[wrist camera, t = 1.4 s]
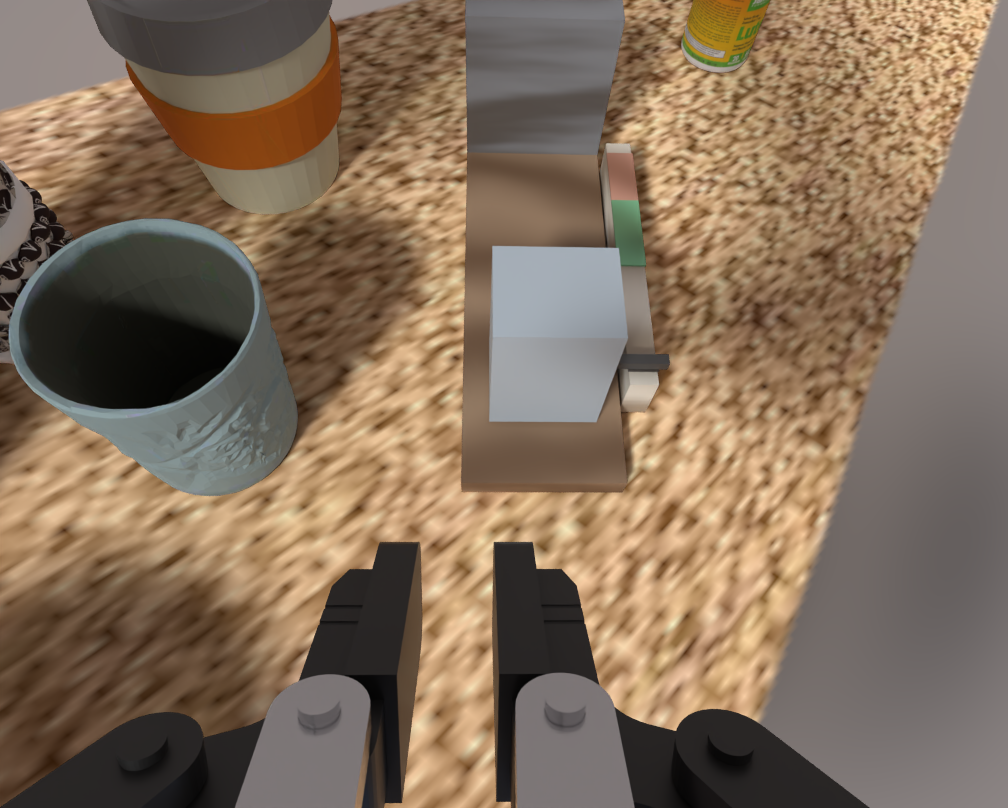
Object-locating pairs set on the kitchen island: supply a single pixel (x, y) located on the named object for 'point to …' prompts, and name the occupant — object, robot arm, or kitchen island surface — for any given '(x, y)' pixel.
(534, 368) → the block
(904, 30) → the kitchen island surface
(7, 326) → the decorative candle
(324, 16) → the reusable coffee cup
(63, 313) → the teal gray cup
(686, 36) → the supplement bottle
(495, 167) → the track
